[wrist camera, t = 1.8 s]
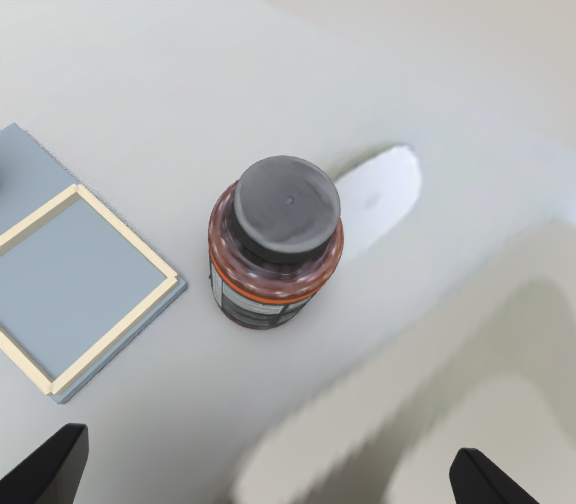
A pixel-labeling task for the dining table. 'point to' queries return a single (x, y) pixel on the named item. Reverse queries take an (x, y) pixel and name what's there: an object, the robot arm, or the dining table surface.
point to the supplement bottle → (274, 241)
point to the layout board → (68, 273)
